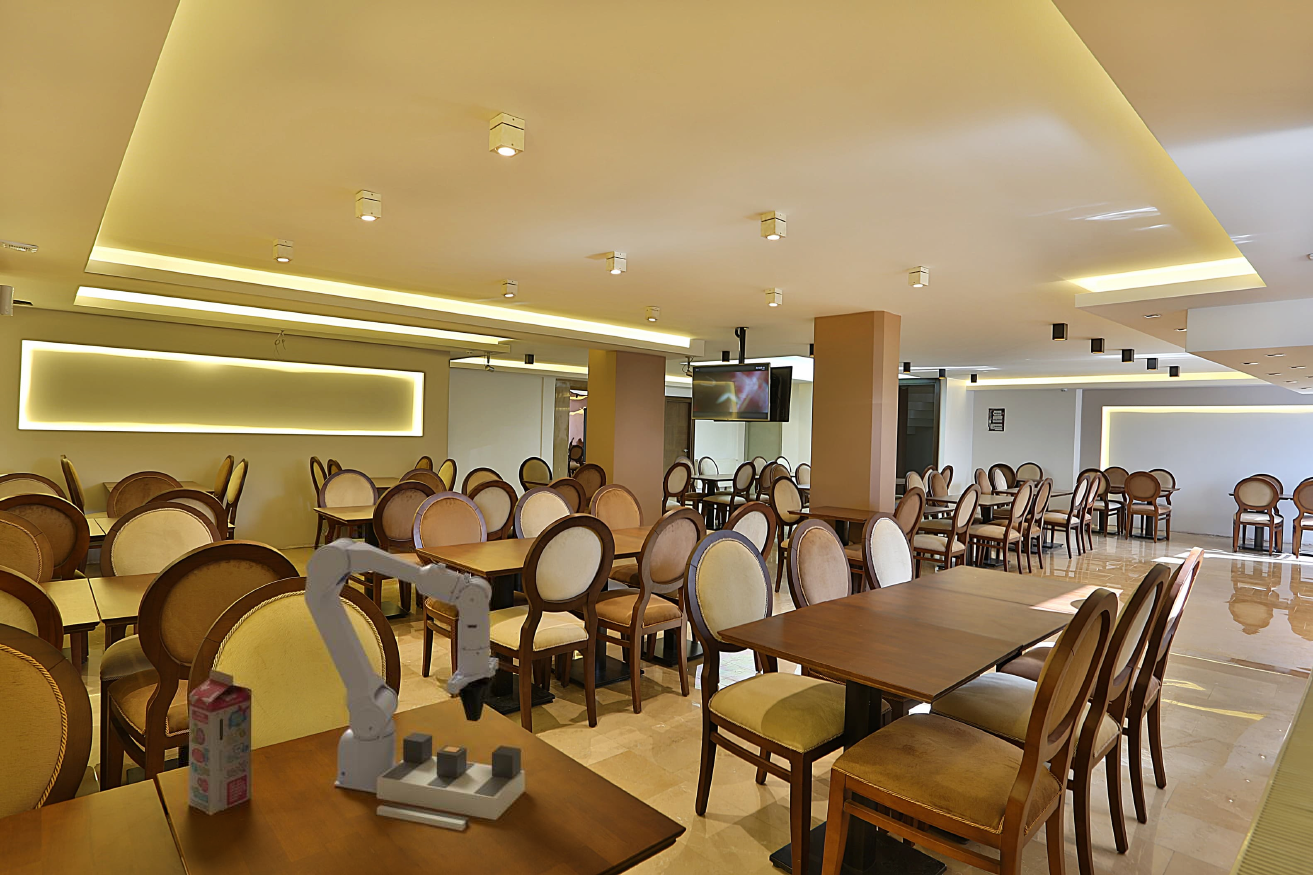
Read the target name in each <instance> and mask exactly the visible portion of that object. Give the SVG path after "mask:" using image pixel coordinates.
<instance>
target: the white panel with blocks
mask: <svg viewBox="0 0 1313 875" xmlns="http://www.w3.org/2000/svg"><path fill="white" fill-rule="evenodd" d="M402 739H403V741H402V749H403V750H402V760H401V761H399V762H398V763H395V766H393V767H392V768H390V769H389V770H387V771H386V772H384V773H383V774H382V775H380V776H379V777H377V793H376V799H380V800H386V801H390V802H396V803H402V804H406V805H413V806H417V807H422V808H428V809H429V808H430V809H435V810H439V811H446V812H451V813H456V814H461V815H462V814H463V815H466V816H472V817H477V818H484V819H488V820H489V819H490V820H493V821H496V820H497V819H499V817H500V816H502V814H503V813H504V812H505V811H506V810H507V809H508V808H509V807H510V806H511V805H512V804H513V803H514V802H516V801H517V799H518V798H519V797H520V796H521V795H522V794H523V793H524V792H525V774H526V772H525V770H521V769H522V766H521V764H522V760H521V759H522V748H519V747H513V746H505V745H500V746H498V747H497V748H496V749H494V750H493V751H492V752H491V765H490V764H489V765H488V764H483V763H478V762H473V761H472V762H470V761H466V772H465V773H463V774H462V775H461V776H460V777H458V778H457V779H455V778H449V777H443V776H437V756H434V755H433V735H432V734H428V733H427V734H425V733H419V732H412V733H410V734H408V735H407V736H406V737H404V738H402Z"/></svg>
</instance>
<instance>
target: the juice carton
mask: <svg viewBox="0 0 1313 875" xmlns="http://www.w3.org/2000/svg"><path fill="white" fill-rule="evenodd" d="M252 693H253V692H252V689H251V688H248V687H245V686H242V685H239V684H236V683H234V675H233V674H228V673H226V672H222V671H219V670H216V669H213V668H210V669H209V678H208V679H207V680H205V681H204V682H203V683H201V684H200V685H199V686H198V687H196V688H195V689H193V691H192V692H191V693H190V694H189V705H188V706H189V712H188V713H189V716H188V717H189V720H188V721H189V722H188V723H189V728H188V729H189V730H188V734H189V735H188V741H189V742H188V748H189V749H188V804H189V803H190V804H192V805H194V806H196V807H198V808H200V809H201V810H203V811H205V812H208V813H209V814H210V805H211V814H212V813H215V812H218V811H220V810H222V811H224V809H225V810H226V808H227V809H229V808H231V806H232V807H233V805H234V806H236V805H238V804H241V803H242V802H246V801H248V800H249V799H251V798H252V797H251V796H252V787H251V786H252ZM228 807H229V808H228ZM220 812H221V811H220ZM218 813H219V812H218Z"/></svg>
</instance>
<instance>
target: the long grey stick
mask: <svg viewBox="0 0 1313 875" xmlns="http://www.w3.org/2000/svg"><path fill="white" fill-rule="evenodd" d="M376 815H379V816H384V817H389V818H395V819H399V820H405V821H409V822H416V823H419V824H420V823H421V824H426V825H432V826H436V827H442V828H448V829H452V830H457V831H463V830H465V828H466V827H468V825H469V817H465V816H459V815H454V814H453V815H452V814H450V813H449V814H448V813H443V812H438V811H437V812H436V811H432V810H428V809H427V810H426V809H421V808H417V807H410V806H406V805H400V804H393V803H387V802H383V803H382V804H381V805H379V806H378V807H376Z"/></svg>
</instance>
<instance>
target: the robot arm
mask: <svg viewBox="0 0 1313 875" xmlns="http://www.w3.org/2000/svg"><path fill="white" fill-rule="evenodd" d="M446 567H447V565H446V564H445V563H443V562H439V563H437V564H435V563H430V564H428V565H425V566H421V565H419V564H416V563H414V562H411V561H409V560H406V559H404V558H402V557H400V556H397V555H394V554H392V553H390V552H387V551H385V550H382V549H380V548H378V547H376V546H374V545H371V544H368V543H366V542H362V541H356V540H354V539H352V538H349V537H341V538H338V539H335V540H334V541H332V542H331V543H328V544H326V545H322V546H320V547H318V548H317V549H316V550H315V551H314V552H313V553H312V555H311V556H310V558H309V560H308V562H306V565H305V571H306V581H305V588H304V589H305V590H304V602H305V604H306V606H307V609H308V611H309V613H310V615H311V617H312V620H313V621H314V624H315V626H316V628H317V630H318V632H319V634H320V636H321V638H322V640H323V643H324V645H325V646H326V649H327V652H328V653H329V655H330V657H331V660H332V662H333V664H334V666H335V668H336V670H337V672H338V675H339V677H340V678H341V680H342V683H343V684H344V687H345V689H346V690H345V691H346V693H345V694H346V696H345V697H346V698H345V706H346V708H347V710H348V714H349V715H348V716H349V719H348V720H349V721H348V722H349V724H348V725H349V728H348V729H347V730H345V731H344V733H343V734H342V736H341V737H340V739H339V742H338V746H337V780H335V782H334V783H333V785H334V786H336V787H341V788H346V789H352V790H357V791H362V792H368V793H373V794H377V777H379V776H380V775H382V774H383V773H384V772H386V771H387V770H389V769H390V768H392V767H393V766H395V765H396V749H397V748H396V736H397V735H396V734H397V733H396V732H397V731H396V730H397V728H396V723H395V721H394V719H393V715H394V714H395V713H396V712H397V709H398V706H399V697H398V695H397V693H396V691H395V690H394V689H392V688H391V687H389V685H387V684H386V682H385V680H384V678H383V677H382V676H381V675H380V674H378V673H376V672H375V670H374V668H373V666H372V663H371V662H370V659H369V657H368V655H367V653H366V650H365V649H364V646H363V645H362V642H361V640H360V638H359V636H358V634H357V632H356V629H355V627H354V625H353V623H352V621H351V619H350V617H349V615H348V612H347V611H346V608H345V606H344V604H343V601H342V600H341V598H340V593H341V591H342V589H343V587H344V585H345V584H346V581H347V579H348V578H349V577H350V576H352V575H357V574H363V573H366V572H375V573H379V574H381V575H385V576H387V577H390V578H394V579H396V580H397V579H398V580H401V581H404V582H407V583H410V584H412V585H414V586H415V588H416V590H417V591H418V593H419V594H420V595H424V596H426V597H427V598H430V599H433V600H436V601H440V602H441V603H445V604H448V605H449V606H456V608H457V611H458V621H457V670H456V671H455V672H454V674H453V675H452V677H451V678H450V679H449V680H448V681H446V693H447V694H454V695H457V694H458V696H459V698H460V701H461V703H462V707H463V711H464V715H465V719H466V720H467V721H470V722H478V721H479V720H480V719H481V717H482V714H483V709H484V706H485V705H484V704H485V702H486V699H487V695H488V692H489V691H490V688H491V687H492V685H493V683H494V682H493V681H494V679H493V676H495V674H496V670H497V669H499V658H496V657H491V618H490V614H491V612H490V605H489V604H490V600H491V598H492V592H493V591H492V587H491V584H490V583H489V582H488V581H487V580H486V579H484V578H482V577H481V576H478V575H477V576H471V574H469V573H466V572H465V573H464V574H462V573H459V572H457V571H454V570H451V569H449V568H446Z"/></svg>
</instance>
